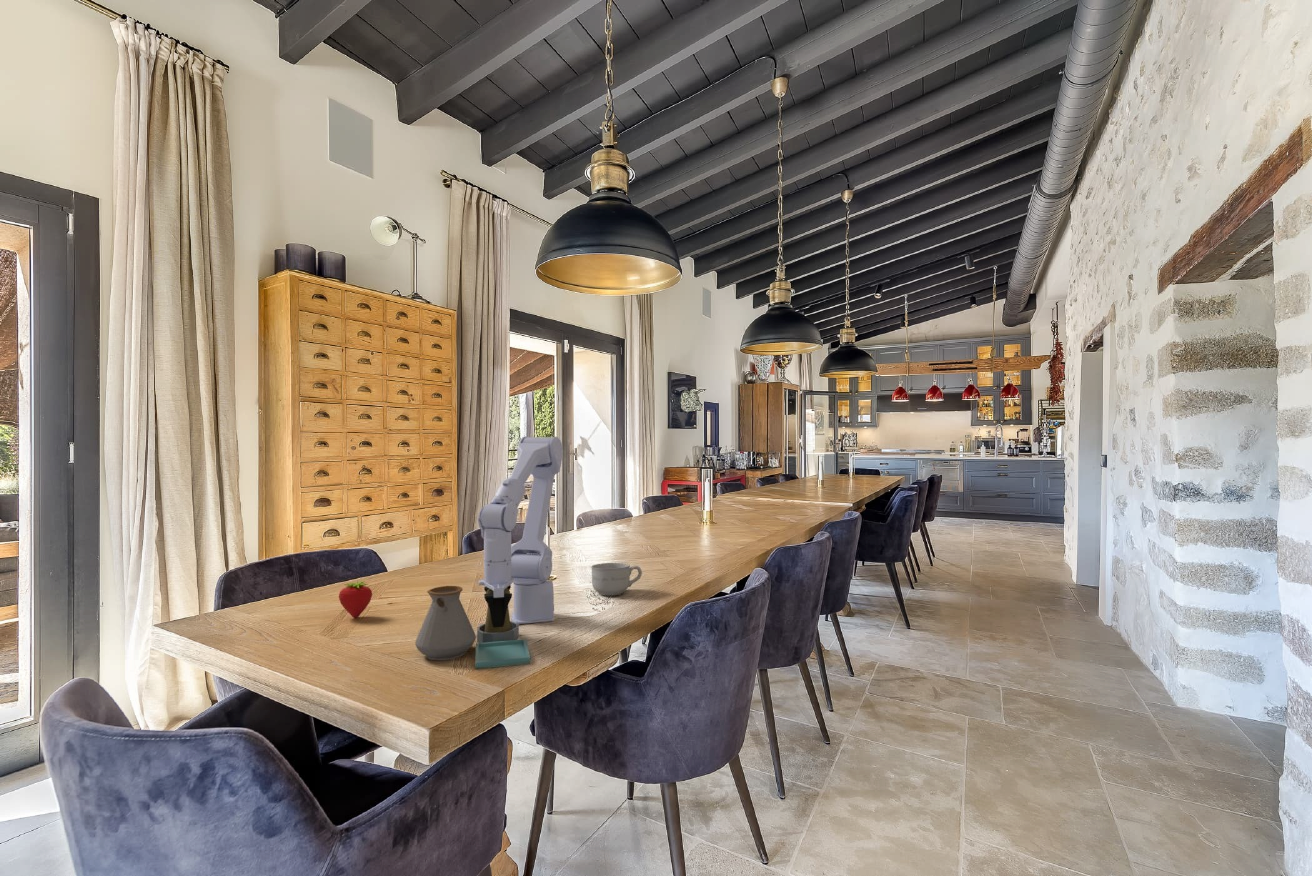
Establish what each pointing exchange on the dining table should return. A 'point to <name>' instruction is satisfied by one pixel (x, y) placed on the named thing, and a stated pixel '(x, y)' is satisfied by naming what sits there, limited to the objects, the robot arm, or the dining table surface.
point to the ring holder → (497, 634)
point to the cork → (488, 625)
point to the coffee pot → (445, 626)
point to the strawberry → (355, 598)
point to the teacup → (613, 577)
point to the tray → (501, 653)
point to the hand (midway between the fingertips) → (497, 622)
